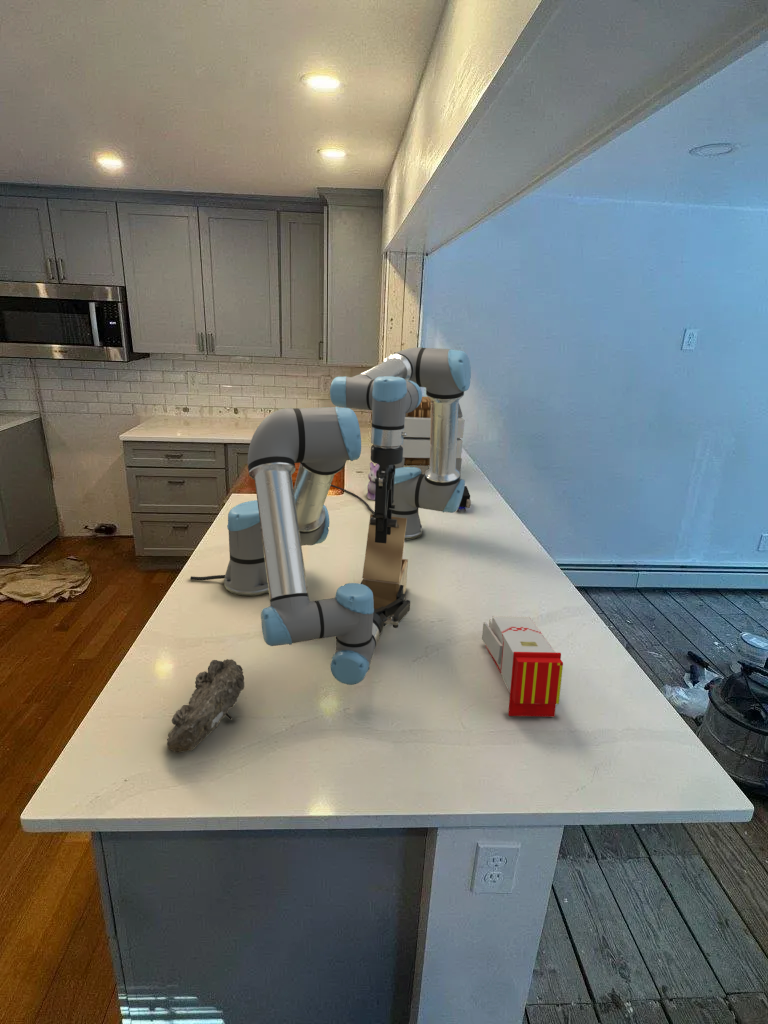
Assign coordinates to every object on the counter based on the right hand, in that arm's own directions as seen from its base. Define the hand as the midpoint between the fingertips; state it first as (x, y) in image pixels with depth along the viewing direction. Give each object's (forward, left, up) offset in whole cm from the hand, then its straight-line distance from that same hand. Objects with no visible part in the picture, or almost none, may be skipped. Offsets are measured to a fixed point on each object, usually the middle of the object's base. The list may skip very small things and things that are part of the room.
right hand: (382, 537), depth 139 cm
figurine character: (-45, +81, -22) cm, 95 cm away
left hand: (-2, +2, -15) cm, 16 cm away
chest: (-5, +6, -22) cm, 23 cm away
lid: (-3, +3, -5) cm, 6 cm away
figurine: (-74, +61, -22) cm, 99 cm away
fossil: (+10, -50, -22) cm, 56 cm away
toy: (+38, +7, -22) cm, 44 cm away
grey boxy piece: (-91, +103, -22) cm, 139 cm away
